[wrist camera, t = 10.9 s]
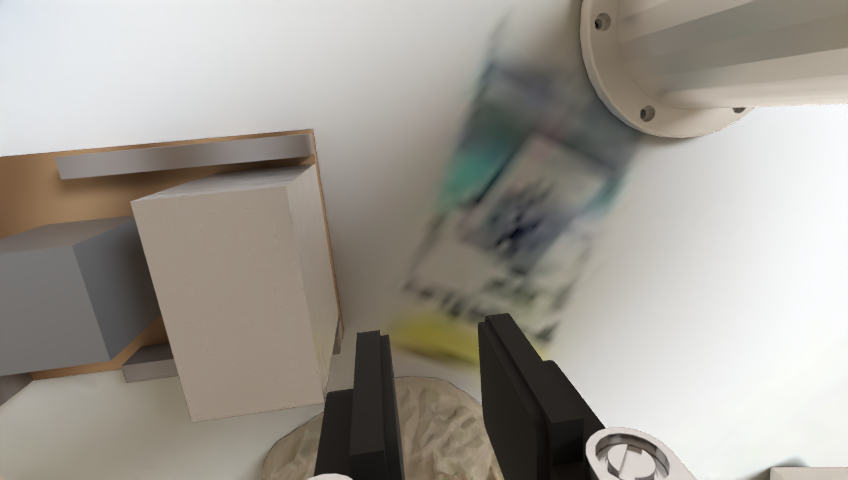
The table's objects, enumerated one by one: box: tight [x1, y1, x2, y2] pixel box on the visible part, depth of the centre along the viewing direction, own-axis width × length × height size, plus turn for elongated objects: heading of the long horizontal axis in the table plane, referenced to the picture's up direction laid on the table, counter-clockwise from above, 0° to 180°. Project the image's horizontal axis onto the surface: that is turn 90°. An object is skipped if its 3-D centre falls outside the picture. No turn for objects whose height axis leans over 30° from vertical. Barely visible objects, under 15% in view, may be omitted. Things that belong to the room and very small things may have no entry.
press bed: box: [0, 129, 344, 406], centre depth 22 cm, size 18×12×4 cm, turn 95°
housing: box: [0, 215, 161, 376], centre depth 20 cm, size 5×5×6 cm
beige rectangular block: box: [130, 163, 339, 422], centre depth 19 cm, size 5×9×8 cm, turn 5°
